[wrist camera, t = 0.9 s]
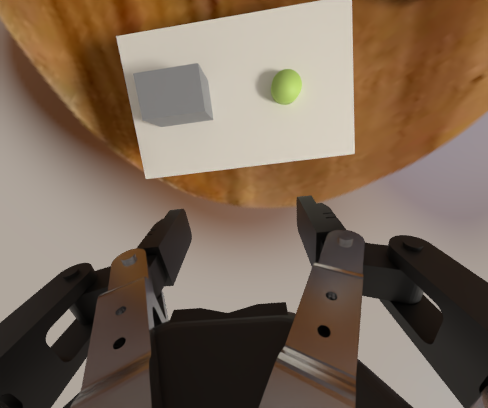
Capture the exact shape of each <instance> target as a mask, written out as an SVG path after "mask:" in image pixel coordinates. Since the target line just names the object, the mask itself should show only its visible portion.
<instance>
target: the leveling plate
mask: <svg viewBox="0 0 488 408" xmlns="http://www.w3.org/2000/svg"><path fill="white" fill-rule="evenodd" d="M116 38H117V43H118V48H119V53H120V57H121V62H122V67H123V72H124V77H125V81H126V86H127V91H128V96H129V101H130V105H131V110H132V115H133V120H134V125H135V129H136V134H137V139H138V144H139V149H140V153H141V158H142V163H143V168H144V173H145V177H146V179H150V178H159V177H167V176H175V175H183V174H192V173H200V172H208V171H217V170H225V169H233V168H241V167H250V166H258V165H266V164H275V163H283V162H291V161H299V160H308V159H316V158H324V157H333V156H341V155H349V154H355V144H354V89H353V35H352V0H321V1H315V2H309V3H303V4H298V5H292V6H286V7H281V8H275V9H269V10H264V11H258V12H252V13H246V14H241V15H235V16H229V17H224V18H218V19H212V20H207V21H201V22H195V23H189V24H184V25H178V26H172V27H167V28H161V29H155V30H150V31H144V32H138V33H132V34H127V35H121V36H116Z"/></svg>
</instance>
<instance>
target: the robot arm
mask: <svg viewBox="0 0 488 408" xmlns="http://www.w3.org/2000/svg"><path fill="white" fill-rule="evenodd" d="M297 227H298V232H299V234H300V237H301V239H302V242H303V245H304V247H305V250H306V253H307V255H308V257H309V261H310V263H311V266H312V270H311V273H310V276H309V279H308V281H307V284H306V287H305V290H304V293H303V295H302V298H301V301H300V304H299V307H298V310H297V313H296V314H295V313H291V312H287V307H286V303H285V302H282V303H268V304H257V305H253V306H250V307H247V308H244V309H240V310H237V311H234V312H230V313H224V312H218V311H213V310H207V309H202V308H197V309H182V310H174V311H173V313H172V316H171V319H170V320H168V315H167V310H166V304H165V299H164V295H163V292H162V289H163V287H164V286H173V285H174V282H175V280H176V278H177V275H178V273H179V270H180V268H181V265H182V263H183V260H184V258H185V255H186V253H187V250H188V248H189V246H190V243H191V239H192V235H191V230H190V226H189V223H188V219H187V216H186V212H185V210H184V209H177V210H170V211H169V212H168V214H167V215H166V216H165V218H164V219H162V220H160V221H159V222H157V223H156V224H155V225H154V226H153V227H152V229H151V231H149V233H148V234H147V236H145V238H144V239H143V240H142V242H141V243H140V244H139V246H138V247H137V248H136V249H132V250H128V251H126V252H124V253H122V254H120V255H119V256H118V257H116V258H115V259H114V260H113V262H112V264H111V266H110V267H107V268H104V269H100V270H97V271H94V269H93V267H92V266H91V264H89V263H81V264H77V265H74V266H72V267H70V268H68V269H66V270H64V271H63V272H61V273H60V274H58V275H57V276H56V277H55V278H54V279H52V280H51V281H50V282H49V283H48V284H46V285H45V286H44V287H43V288H42V289H40V290H39V291H38V292H37V293H36V294H34V295H33V296H32V297H31V298H30V299H28V300H27V301H26V302H25V303H23V304H22V305H21V306H20V307H19V308H18V309H16V310H15V311H14V312H13V313H11V314H10V315H9V316H8V317H7V318H5V319H4V320H3V321H2V322H1V323H0V408H51V407H52V405H53V404H54V402H55V401H56V400H57V398H58V397H59V396H60V394H61V393H62V391H63V390H64V388H65V387H66V386H67V384H68V383H69V381H70V380H71V379H72V377H73V376H74V374H75V373H76V372H77V370H78V369H79V367H80V366H81V365H82V363H83V362H84V360H85V359H86V358H87V361H86V366H85V372H84V377H83V383H82V388H81V391H80V393H78V394H77V395H76V396H75V397H74V398H73V399H72V400H71V401H70V402H69V403H68V404H66V405H65V406H64V407H63V408H413V407H412V406H411V405H410V404H408V403H407V402H406V401H405V400H404V399H403V398H402V397H400V396H399V395H398V394H397V393H396V392H395V391H394V390H393V389H391V388H390V387H389V386H388V385H387V384H386V383H384V382H383V381H382V380H381V379H380V378H379V377H378V376H377V375H375V374H374V373H373V372H372V371H371V370H370V369H369V368H368V367H366V366H365V365H364V364H363V363H362V362H361V361H360V360H358V359H357V357H358V343H359V330H360V316H361V303H362V296H367V297H372V298H378V299H380V301H381V302H382V303H383V305H384V306H385V307H386V309H387V310H388V311H389V312H390V314H391V315H392V316H393V318H394V319H395V320H396V321H397V323H398V324H399V325H400V326H401V328H402V329H403V330H404V331H405V333H406V334H407V335H408V337H409V338H410V339H411V341H412V342H413V343H414V344H415V346H416V347H417V348H418V349H419V351H420V352H421V353H422V355H423V356H424V357H425V358H426V360H427V361H428V362H429V363H430V364H431V366H432V367H433V368H434V370H435V371H436V372H437V374H438V375H439V376H440V377H441V379H442V380H443V381H444V382H445V384H446V385H447V386H448V388H449V389H450V390H451V391H452V393H453V394H454V395H455V397H456V398H457V399H458V400H459V402H460V403H461V404H462V405H463V407H464V408H488V282H486V281H485V280H483V279H482V278H480V277H479V276H477V275H476V274H474V273H473V272H471V271H470V270H468V269H467V268H465V267H464V266H463V265H461V264H460V263H458V262H457V261H455V260H454V259H452V258H451V257H449V256H448V255H447V254H445V253H444V252H442V251H441V250H439V249H438V248H436V247H435V246H433V245H432V244H430V243H429V242H427V241H425V240H423V239H420V238H417V237H413V236H406V235H400V236H395V237H392V238H391V239H390V241H389V244H388V246H387V245H378V244H370V243H365V241H364V239H363V237H361V236H360V235H359V234H357V233H355V232H352V231H348V230H346V229H345V228H344V226H343V225H342V224H341V222H340V221H339V220H338V218H336V216H335V214H334V213H333V212H332V210H331V209H330V208H329V207H328V206H326V205H324V204H323V203H318V204H316V202H315V201H314V199H313V198H312V196H302V197H297ZM423 292H425V293H426V294H427V295H428V296H429V297H430V298H431V299H432V300H433V301H434V302H435V303H436V304H437V305H438V306H439V308H440V309H441V311H439V310H438V309H437V308H436V307H435V306H434V305H433V304H432V303H431V302H430V301H429V300H428V299H427V298H426V297H425V296H424V295H423ZM68 309H70V310H71V312H72V313H73V314H74V316H75V317H76V319H75V320H74V322H73V323H72V324H71V325H70V326H69V327H68V329H67V330H66V331H65V332H64V333H63V334H62V335H61V336H60V337H59V339H58V340H57V341H56V342H55V343H54V344H53V345H52V347H51V348H50V347H49V346H48V345H47V343H46V334H47V332H48V330H49V329H50V328H51V327H52V325H53V324H54V323H55V322H56V321H57V320H58V319H59V318H60V317H61V316H62V315H63V314H64V313H65V312H66V311H67V310H68Z"/></svg>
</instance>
